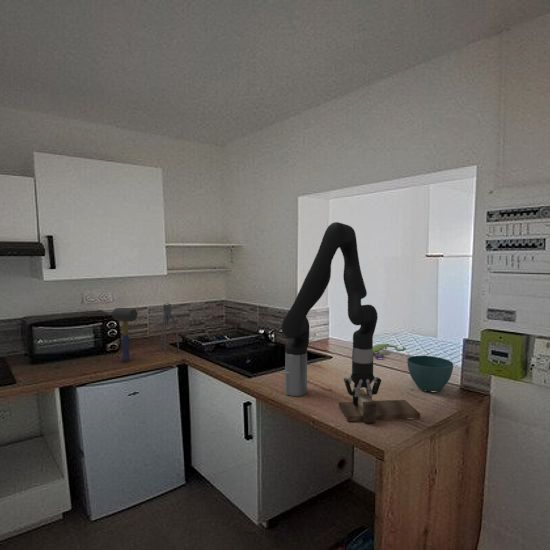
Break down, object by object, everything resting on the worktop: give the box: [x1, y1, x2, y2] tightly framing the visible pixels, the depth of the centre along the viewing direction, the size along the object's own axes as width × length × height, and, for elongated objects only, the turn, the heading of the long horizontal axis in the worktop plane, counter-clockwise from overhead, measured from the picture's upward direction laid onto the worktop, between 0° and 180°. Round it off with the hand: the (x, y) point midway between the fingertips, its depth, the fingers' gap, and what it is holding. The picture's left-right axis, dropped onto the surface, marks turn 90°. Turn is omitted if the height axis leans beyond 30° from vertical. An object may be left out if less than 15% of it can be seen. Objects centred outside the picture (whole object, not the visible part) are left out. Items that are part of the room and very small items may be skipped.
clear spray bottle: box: [160, 302, 180, 355], centre depth 217 cm, size 10×11×30 cm
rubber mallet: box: [111, 307, 138, 362], centre depth 198 cm, size 12×8×30 cm, turn 70°
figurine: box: [373, 343, 407, 359], centre depth 209 cm, size 18×27×6 cm
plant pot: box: [406, 355, 454, 392], centre depth 154 cm, size 18×18×12 cm
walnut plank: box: [338, 399, 421, 422], centre depth 131 cm, size 26×12×2 cm, turn 95°
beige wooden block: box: [356, 388, 377, 424], centre depth 129 cm, size 4×14×6 cm, turn 5°
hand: (362, 405), depth 131 cm, fingers closed on beige wooden block, 4 cm apart
